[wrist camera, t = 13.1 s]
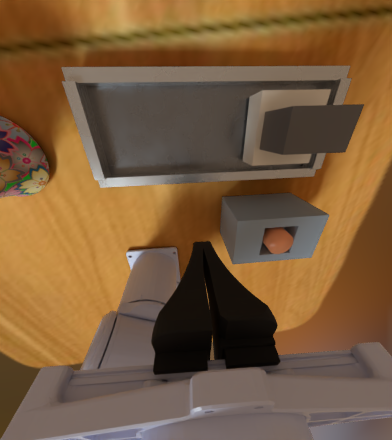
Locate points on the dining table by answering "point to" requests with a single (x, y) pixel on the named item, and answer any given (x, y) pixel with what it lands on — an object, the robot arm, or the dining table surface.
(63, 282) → the dining table surface
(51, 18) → the dining table surface
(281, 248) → the button
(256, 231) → the end cabinet
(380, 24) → the dining table surface
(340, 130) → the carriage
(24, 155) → the floral patterned vase
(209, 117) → the grey metal tray
